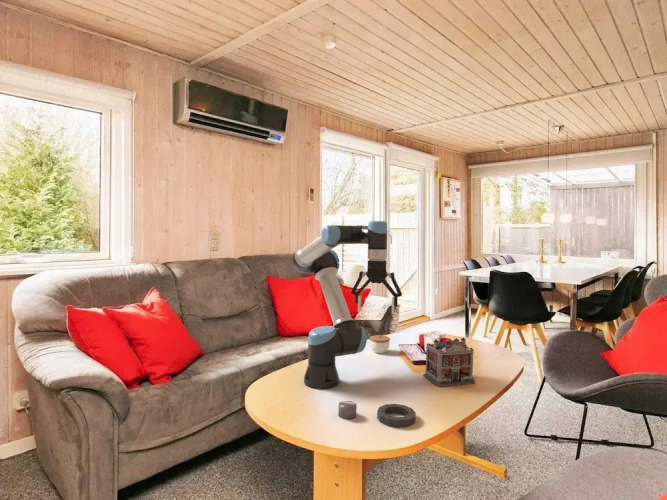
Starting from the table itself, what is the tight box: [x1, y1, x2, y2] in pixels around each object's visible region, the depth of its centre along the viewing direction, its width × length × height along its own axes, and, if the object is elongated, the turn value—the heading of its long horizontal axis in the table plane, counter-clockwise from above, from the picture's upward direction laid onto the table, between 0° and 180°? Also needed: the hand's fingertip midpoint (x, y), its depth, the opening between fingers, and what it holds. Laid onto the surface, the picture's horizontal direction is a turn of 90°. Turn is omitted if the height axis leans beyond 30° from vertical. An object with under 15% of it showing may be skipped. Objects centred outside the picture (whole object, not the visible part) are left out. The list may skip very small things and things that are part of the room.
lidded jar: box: [369, 334, 391, 355], centre depth 230 cm, size 11×11×9 cm
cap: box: [337, 400, 358, 420], centre depth 153 cm, size 6×6×5 cm
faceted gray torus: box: [376, 403, 417, 429], centre depth 151 cm, size 13×13×2 cm
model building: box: [422, 337, 477, 388], centre depth 190 cm, size 19×14×20 cm
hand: (375, 312), depth 172 cm, fingers open, 13 cm apart
